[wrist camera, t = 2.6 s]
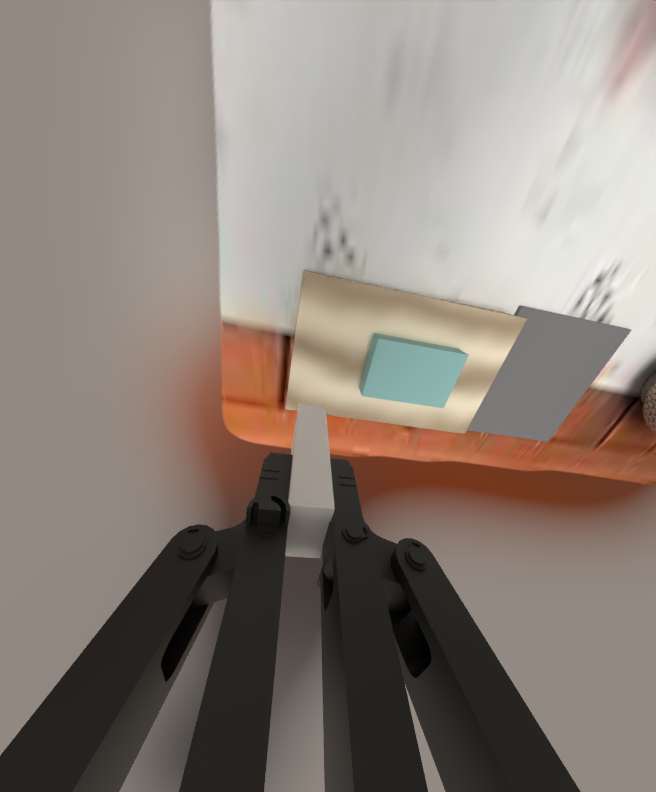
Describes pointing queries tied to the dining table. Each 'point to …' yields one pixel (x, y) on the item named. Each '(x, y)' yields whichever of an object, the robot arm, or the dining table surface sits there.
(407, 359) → the teal foam pad
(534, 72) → the dining table surface
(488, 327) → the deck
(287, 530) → the robot arm
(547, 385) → the mat
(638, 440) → the dining table surface
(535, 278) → the dining table surface
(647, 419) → the planter
